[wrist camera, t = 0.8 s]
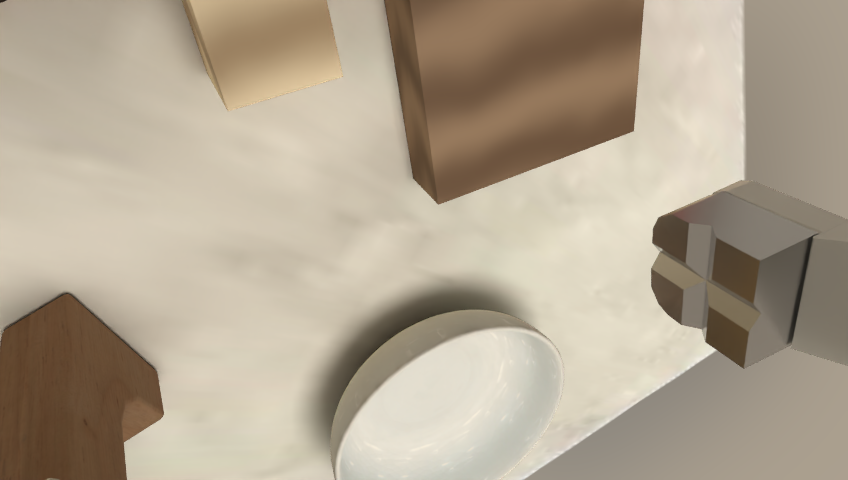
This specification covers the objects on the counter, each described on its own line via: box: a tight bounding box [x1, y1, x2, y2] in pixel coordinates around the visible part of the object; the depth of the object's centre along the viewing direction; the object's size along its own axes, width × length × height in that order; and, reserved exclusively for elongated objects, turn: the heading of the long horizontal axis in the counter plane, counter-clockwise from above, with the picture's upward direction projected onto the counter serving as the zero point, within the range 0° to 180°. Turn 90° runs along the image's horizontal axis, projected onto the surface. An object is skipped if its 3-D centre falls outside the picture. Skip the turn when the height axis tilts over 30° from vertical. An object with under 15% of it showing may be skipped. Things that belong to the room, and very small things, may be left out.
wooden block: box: [0, 294, 164, 480], centre depth 34 cm, size 9×4×18 cm, turn 22°
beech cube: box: [182, 0, 343, 111], centre depth 32 cm, size 6×6×6 cm
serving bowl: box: [330, 309, 564, 480], centre depth 53 cm, size 21×21×7 cm
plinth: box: [385, 0, 644, 205], centre depth 40 cm, size 16×16×4 cm
